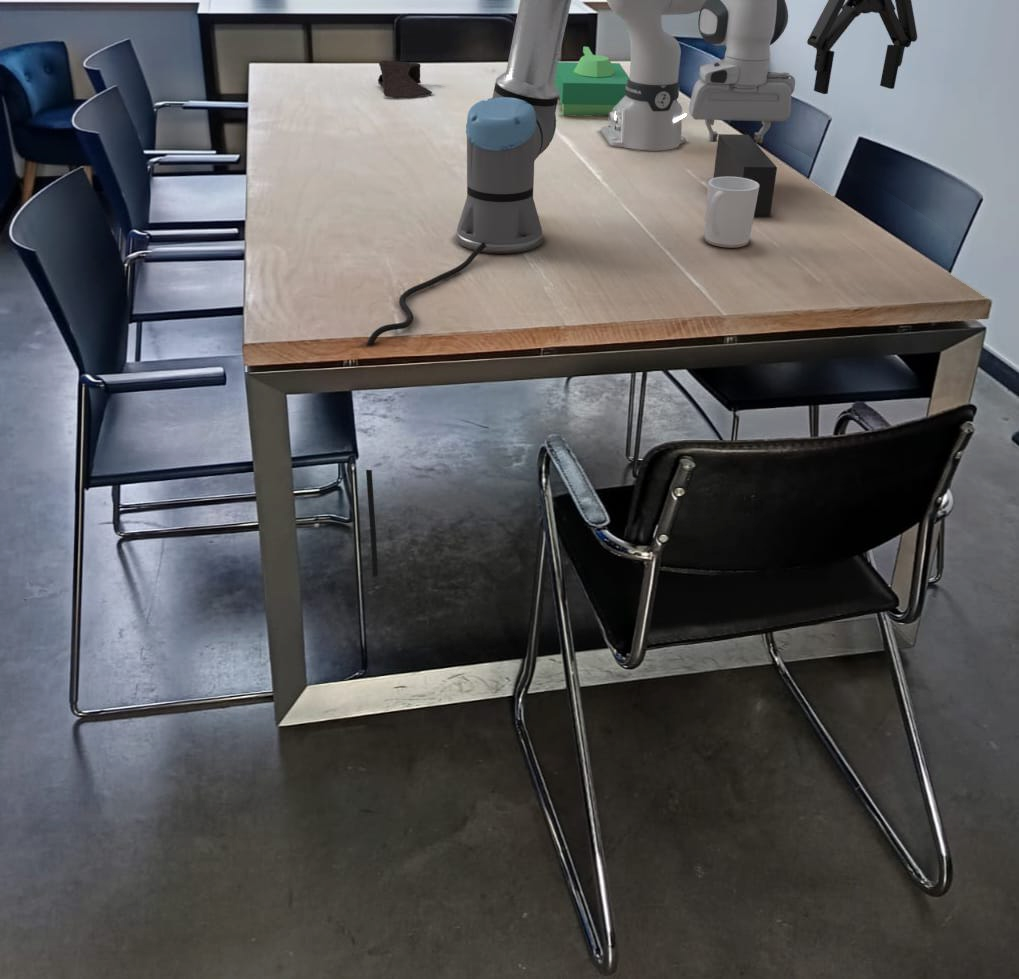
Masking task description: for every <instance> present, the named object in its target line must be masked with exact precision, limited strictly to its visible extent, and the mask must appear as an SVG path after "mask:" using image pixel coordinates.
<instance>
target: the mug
mask: <svg viewBox="0 0 1019 979" xmlns="http://www.w3.org/2000/svg"><path fill="white" fill-rule="evenodd" d="M758 191H759V184H758V183H757V182H756V181H753V180H750V179H746V178H741V177H716V178H713V177H712V178H710V179H709V180H708V181H707V192H706V207H705V219H704V220H705V222H704V236H703V238H704V241H705V242H706V243H707V244H710V245H712V246H715V247H719V248H720V247H721V248H731V249H733V248H734V249H735V248H742V247H744V246H747V245H748V244H749V242H750V239H751V233H752V228H753V224H754V223H753V222H754V212H755V207H756V202H757V196H758Z"/></svg>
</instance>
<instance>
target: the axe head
mask: <svg viewBox="0 0 1019 979" xmlns="http://www.w3.org/2000/svg"><path fill="white" fill-rule="evenodd" d="M378 66H379V68H380V72H381V74H379V75H378V79H377V84H378V85H379V86H380V87H381V88H382V89H383V95H384V96H385V97H388V98H394V99H395V98H396V99H403V98H405V99H406V98H407V99H411V98H418V97H425V96H429V95H432V94H433V91H431V90H430V89H428V88H427V87H425V86H422V85H421V84H422V82H421V63H419V62H410V61H408V62H407V61H397V60H388V59H387V60H380V61H379V62H378Z"/></svg>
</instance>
